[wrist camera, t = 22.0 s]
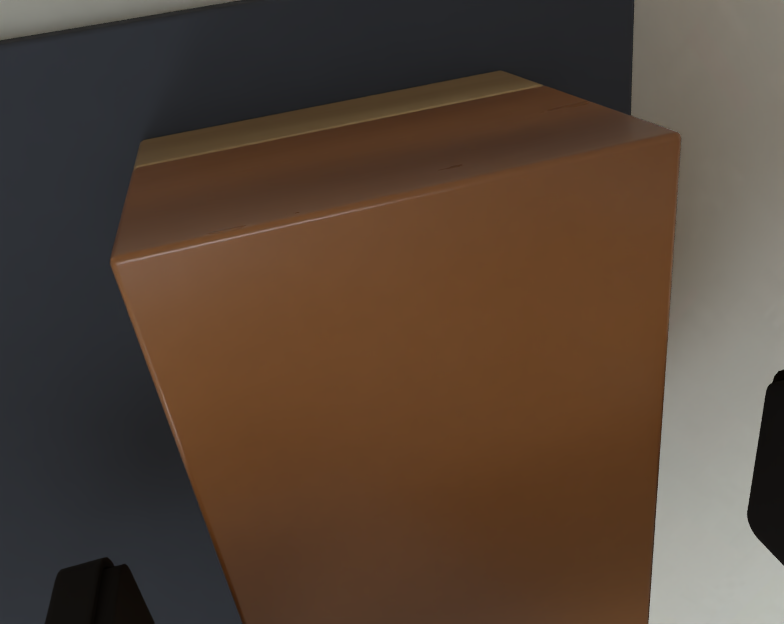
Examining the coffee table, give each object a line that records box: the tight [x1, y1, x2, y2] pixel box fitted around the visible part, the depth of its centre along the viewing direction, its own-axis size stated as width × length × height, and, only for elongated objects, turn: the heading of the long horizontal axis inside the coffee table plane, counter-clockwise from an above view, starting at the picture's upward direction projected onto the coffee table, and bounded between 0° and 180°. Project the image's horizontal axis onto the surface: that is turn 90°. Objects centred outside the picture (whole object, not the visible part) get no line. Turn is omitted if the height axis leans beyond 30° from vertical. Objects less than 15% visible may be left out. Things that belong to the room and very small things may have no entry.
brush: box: [110, 71, 681, 624], centre depth 11 cm, size 11×6×4 cm, turn 8°
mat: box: [0, 0, 634, 624], centre depth 13 cm, size 16×14×1 cm
